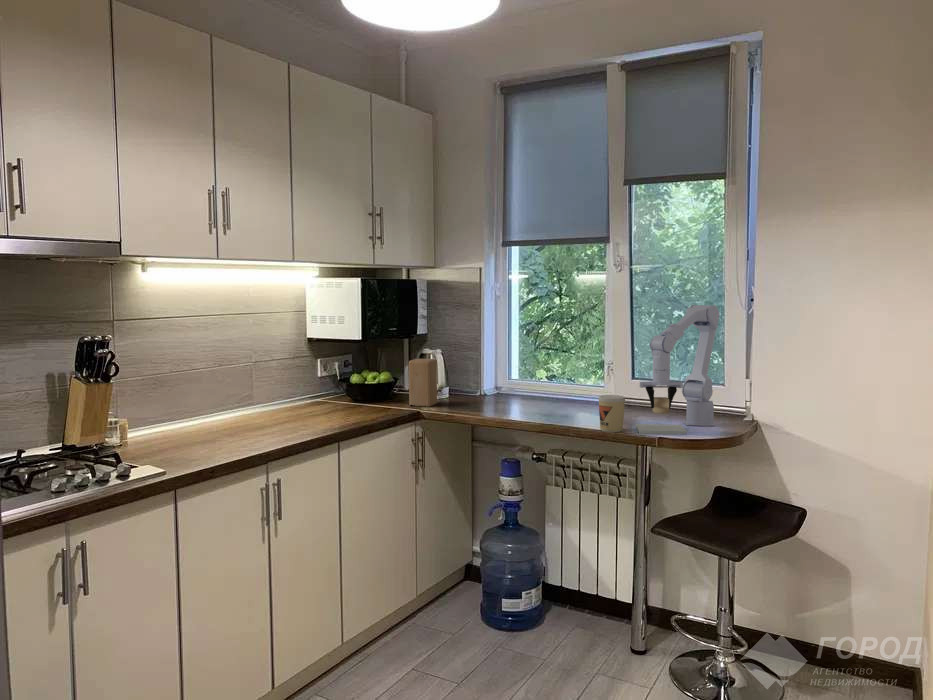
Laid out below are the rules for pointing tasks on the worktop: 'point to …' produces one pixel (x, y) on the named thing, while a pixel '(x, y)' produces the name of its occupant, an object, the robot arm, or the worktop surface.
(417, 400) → the wooden block
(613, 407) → the coffee cup
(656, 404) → the maple cube
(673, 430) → the gray board
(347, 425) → the worktop surface
